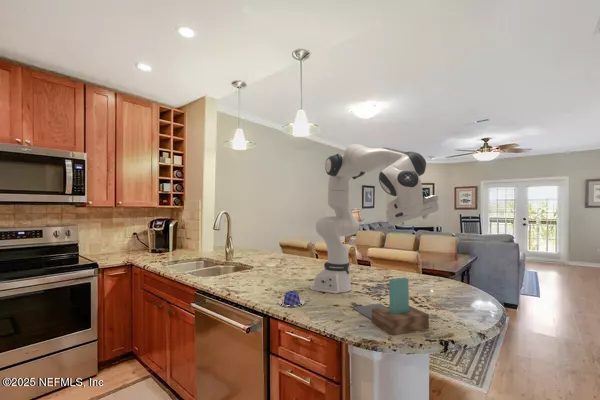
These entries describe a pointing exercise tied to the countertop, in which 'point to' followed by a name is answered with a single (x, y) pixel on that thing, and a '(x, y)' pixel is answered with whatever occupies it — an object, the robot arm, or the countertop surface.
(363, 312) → the mat
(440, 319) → the countertop surface
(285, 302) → the pudding
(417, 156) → the robot arm
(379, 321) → the slot box
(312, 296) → the countertop surface
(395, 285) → the cover plate
